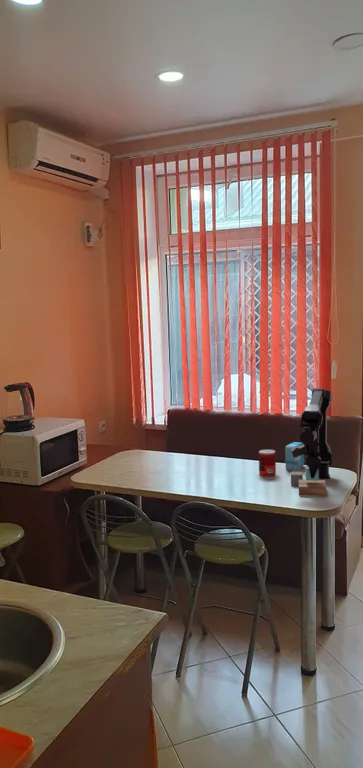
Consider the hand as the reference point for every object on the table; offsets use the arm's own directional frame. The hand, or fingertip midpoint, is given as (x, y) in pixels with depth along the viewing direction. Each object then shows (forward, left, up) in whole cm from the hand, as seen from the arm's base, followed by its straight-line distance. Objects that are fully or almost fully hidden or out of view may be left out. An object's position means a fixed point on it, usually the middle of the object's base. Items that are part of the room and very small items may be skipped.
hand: (312, 476), depth 243 cm
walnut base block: (0, 0, -7) cm, 7 cm away
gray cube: (-11, -6, -7) cm, 14 cm away
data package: (-39, -6, -7) cm, 40 cm away
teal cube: (0, 0, -1) cm, 1 cm away
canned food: (-27, -19, -7) cm, 34 cm away
